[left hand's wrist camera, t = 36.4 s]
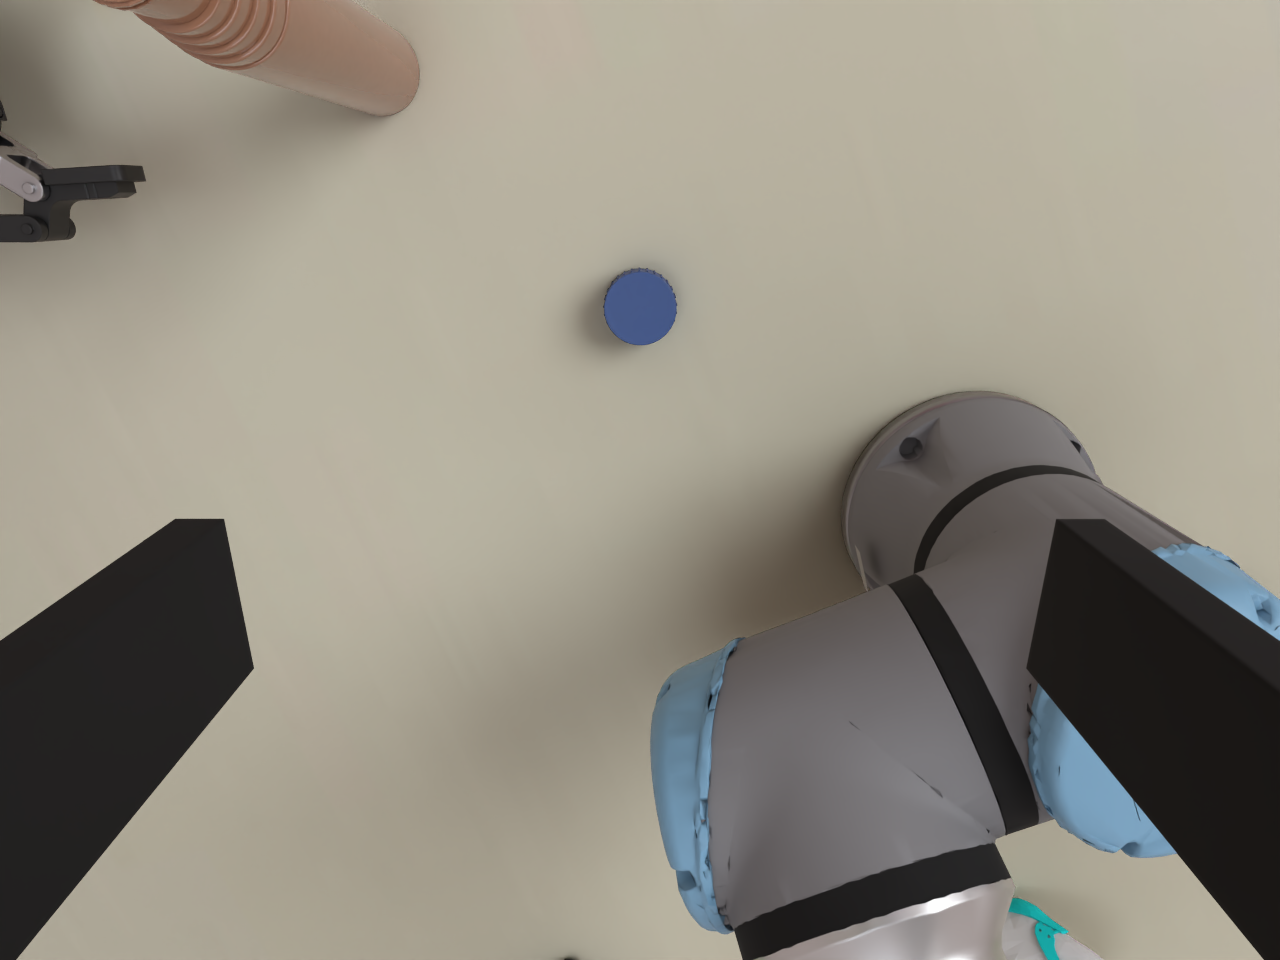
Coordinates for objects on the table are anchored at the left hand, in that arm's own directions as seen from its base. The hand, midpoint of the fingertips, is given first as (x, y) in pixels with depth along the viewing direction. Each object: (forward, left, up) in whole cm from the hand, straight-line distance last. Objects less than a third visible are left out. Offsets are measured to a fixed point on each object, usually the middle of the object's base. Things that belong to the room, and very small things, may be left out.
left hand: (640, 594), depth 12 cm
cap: (0, 0, -33) cm, 33 cm away
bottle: (+14, -12, -35) cm, 40 cm away
